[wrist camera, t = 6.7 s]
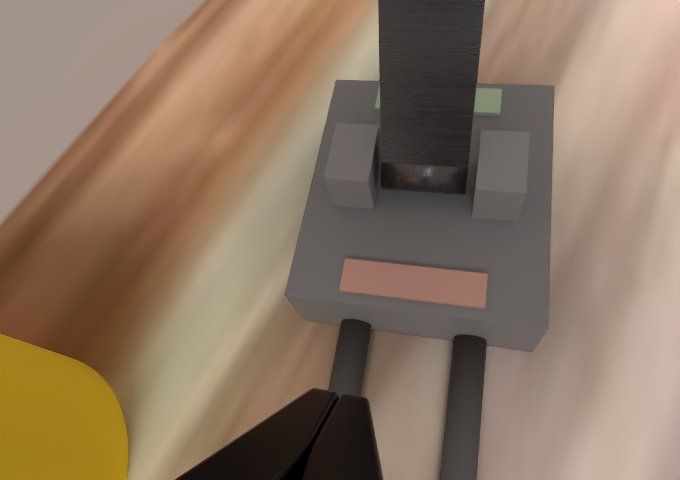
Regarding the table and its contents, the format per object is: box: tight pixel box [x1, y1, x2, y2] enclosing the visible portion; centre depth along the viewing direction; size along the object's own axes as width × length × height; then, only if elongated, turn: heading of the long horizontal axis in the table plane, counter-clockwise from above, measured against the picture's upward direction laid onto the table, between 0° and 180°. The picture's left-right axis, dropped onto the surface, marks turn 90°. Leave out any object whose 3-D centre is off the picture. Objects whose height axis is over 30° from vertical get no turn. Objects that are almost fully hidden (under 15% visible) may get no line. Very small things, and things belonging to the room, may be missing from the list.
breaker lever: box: [378, 0, 485, 195], centre depth 16 cm, size 2×4×11 cm, turn 81°
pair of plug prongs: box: [328, 319, 487, 480], centre depth 19 cm, size 8×6×1 cm
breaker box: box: [285, 80, 554, 352], centre depth 20 cm, size 10×9×5 cm
